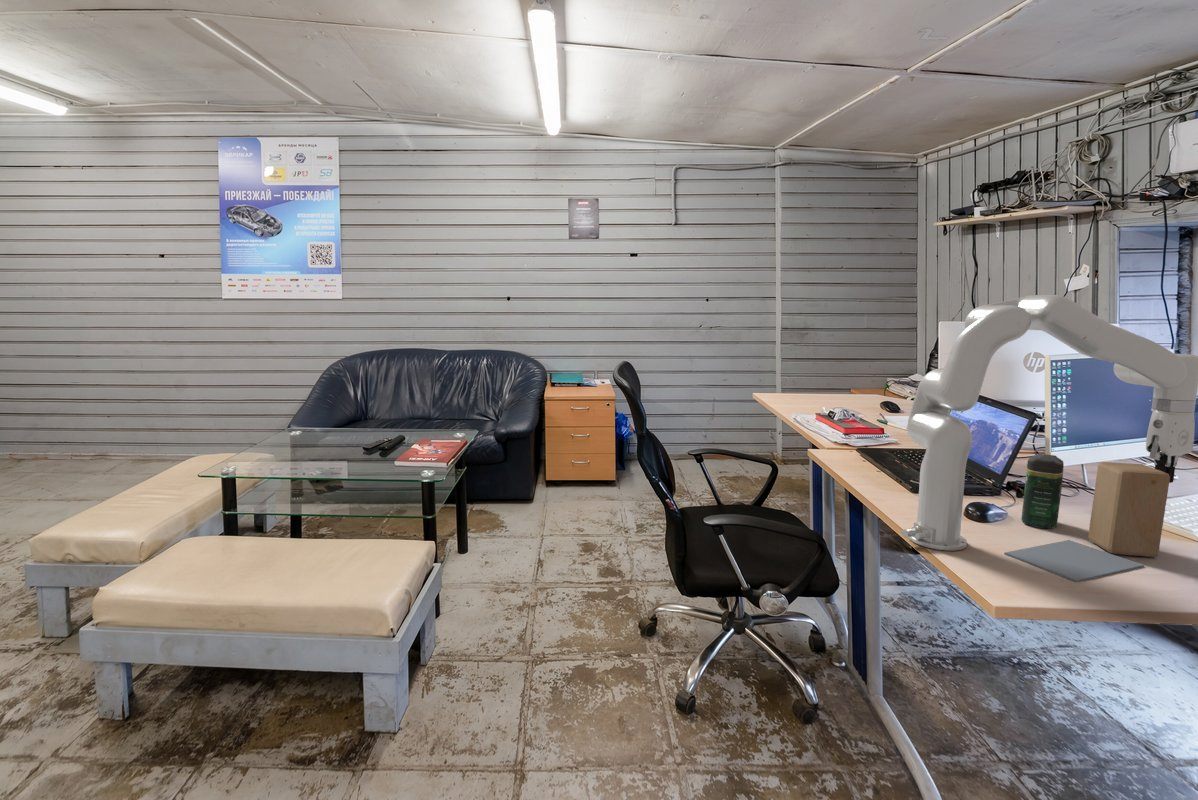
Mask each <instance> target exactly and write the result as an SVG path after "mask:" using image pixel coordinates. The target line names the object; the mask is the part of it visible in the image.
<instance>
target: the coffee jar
mask: <svg viewBox="0 0 1198 800" xmlns="http://www.w3.org/2000/svg"><path fill="white" fill-rule="evenodd" d="M1026 462H1027V465H1026V472H1025V473H1026V474H1025V480H1024V481H1025V483H1024V492H1023V501H1022V512H1021V521H1022V522H1023V524H1026V525H1030V526H1032V527H1035V528H1038V529H1043V528H1044V529H1045V528H1047V529H1054V528H1055V527H1056V526H1057V524H1058V521H1059V513H1060V504H1061V498H1062V489H1063V478H1064V461H1063V460H1062V459H1061V458H1059V457H1057V455H1053V454H1047V453H1046V454H1045V453H1037V454H1035V455H1032V456H1030V457H1029V458H1028V459H1027V461H1026Z"/></svg>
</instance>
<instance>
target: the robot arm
mask: <svg viewBox="0 0 1198 800" xmlns="http://www.w3.org/2000/svg"><path fill="white" fill-rule="evenodd" d="M964 327H965V329H963V331H961V333H959V335H958V337H957V338H956V339H955V341H954V342H953V344H952V346H951V349H950V352H949V354H948V357H947V360H946V363H945V366H944V368H942V367H941V368H935V369H932V370H930V371H929V372H927V373H926V374H925V375H924V376H923V377H922V378H921V380H920V381H919V384H918V386H917V390H916V392H915V394H914V395H915V396H914V399H913V403H912V405H911V410H910V412H909V416H908V421H907V425H906V426H907V434H908V436H909V438H910V439H911V440H912V441H913V442H914V443H915V444H917V445H918V446H920V447H922V448H925V453H924V455H923V458H922V461H921V465H920V470H919V486H918V487H919V489H918V499H917V500H918V501H917V502H918V503H917V516H916V522H913V526H912V527H911V528H906V529H903V530H902V531H901V535H902V537H903V538H909V540H910V541H911V542H913V543H914V544H916V545H919V546H921V547H925V548H928V549H932V550H939V551H949V552H950V551H951V552H952V551H953V552H954V551H960V550H963V549H965V548H967V545H968V540H967V539H966V538H965V537H963V536H962V535H961V531H962V530H961V527H962V526H961V525H962V519H963V517H962V515H963V502H964V489H965V478H966V467H967V461H968V458H969V454H970V452H971V448H972V445H973V444H972V443H973V437H972V436H973V435H972V434H973V433H972V432H971V430H970V429H971V428H970V427H969V426H968V425H967V424H966V423H965V422H964V421H963V420H961V419H960V418H957V417H956V416H953V415H950V414H951V411H953V412H966V411H968V410H971V409H973V407H974V406H975V405H976V403H977V402H978V400H979V397H980V393H981V390H982V387H983V383H984V381H985V377H986V373H987V370H988V367H989V364H990V362H991V360H992V358H993V356H994V355H995V353H996V352H997V351H998V350H999V349H1000V348H1002V347H1003V346H1005V345H1006V344H1008V343H1010V342H1013V341H1015V340H1017V339H1020V338H1021V337H1022V336H1024V335H1025V334H1026V333H1027V332H1028V331H1034V330H1035V331H1042V332H1045V333H1046V334H1048V335H1050V336H1051V337H1053V338H1054V339H1057V340H1058V341H1060V342H1061V343H1063V344H1065V345H1066V346H1067V347H1069V348H1072V349H1073V350H1074V351H1076V352H1077V353H1080V354H1082V355H1084V356H1087V357H1090V358H1093V359H1096V360H1101V361H1105V362H1109V363H1113V364H1114V365H1113V374H1114V376H1116V377H1117V379H1119V380H1120V381H1122V382H1123V383H1127V384H1130V385H1136V386H1137V385H1138V386H1146V387H1152V388H1153V393H1152V402H1151V409H1150V411H1151V412H1152V413H1151V416H1150V419H1149V424H1148V428H1147V431H1146V433H1147V434H1146V440H1145V450H1146V451H1147V452H1148V453H1149V459H1152V460H1153V464H1154V469H1157V470H1160V471H1162V472H1165V473H1167V474H1169V476H1170V481H1169V484H1170V483H1173V482H1174V479H1175V472H1176V466H1177V465H1178V461H1179V458H1180V457H1181V458H1182V456H1184V455H1187V454H1189V453H1192V452H1193V450H1194V444H1195V430H1196V429H1195V428H1196V427H1195V426H1196V423H1195V410H1196V402H1197V394H1198V355H1195V354H1191V353H1190V354H1189V353H1187V354H1186V353H1174V352H1172V351H1171V350H1169V349H1167V348H1166V347H1165V346H1162V345H1161V344H1159V343H1157V342H1155V341H1153V340H1151V339H1149V338H1146V337H1145V336H1142V335H1139V334H1136V333H1134V332H1131V331H1129V330H1126V329H1124V328H1121V327H1119V326H1116V325H1114V324H1111V323H1109V322H1107V321H1106V320H1104V319H1102V318H1101V317H1100V316H1098V315H1096V314H1094V313H1093V312H1091V311H1090V310H1088V309H1086V308H1085V307H1084V306H1081V305H1079V304H1078V303H1076V301H1074V300H1071V299H1070V298H1068V297H1067V296H1063V295H1060V294H1033V295H1031V294H1030V295H1025V296H1020V297H1017V298H1016V297H1015V298H1012V299H1008V300H1003V301H999V302H993V303H989V304H988V303H987V304H983V305H979V306H976V307H975V308H974V309H972V310H971V311H970V312H969V313H968V314H967V316H966V317H965V321H964Z"/></svg>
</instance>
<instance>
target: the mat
mask: <svg viewBox="0 0 1198 800" xmlns="http://www.w3.org/2000/svg"><path fill="white" fill-rule="evenodd" d="M1004 555H1005V556H1008V557H1011V558H1014V559H1016V560H1018V559H1019V561H1021V562H1024V563H1026V564H1029V565H1032V566H1034V567H1037V568H1039V569H1042V570H1045V571H1047V572H1050V573H1052V574H1055V575H1057V576H1059V577H1062V578H1065V579H1067V580H1070V581H1073V582H1075V583H1079V582H1083V581H1086V580H1090V579H1091V580H1093V579H1097V578H1100V577H1104V576H1105V577H1106V576H1109V575H1113V574H1116V573H1117V574H1118V573H1123V572H1127V571H1130V570H1135V569H1140V568H1143V567H1145V565H1144V564H1143V563H1139V562H1137V561H1133V560H1132V559H1128V558H1124V557H1122V556H1118V555H1117V554H1112V553H1110V552H1108V551H1104V550H1100V549H1098V548H1095V547H1092V546H1089V545H1086V544H1082V543H1079V542H1077V541H1074V540H1071V539H1067V540H1062V541H1061V540H1060V541H1055V542H1051V543H1047V544H1046V543H1045V544H1040V545H1035V546H1031V547H1026V548H1025V547H1024V548H1021V549H1016V550H1010V551H1006V552H1004ZM1139 567H1140V568H1139ZM1126 570H1127V571H1126Z"/></svg>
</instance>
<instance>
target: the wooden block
mask: <svg viewBox="0 0 1198 800" xmlns="http://www.w3.org/2000/svg"><path fill="white" fill-rule="evenodd" d="M1169 481H1170V476H1169V474H1167V473H1165V472H1162V471H1160V470H1157V469H1155V467H1151V466H1148V465H1145V464H1142V463H1127V462H1112V461H1103V462H1099V463H1098V464H1097V470H1096V477H1095V482H1094V483H1095V486H1094V493H1093V500H1092V506H1091V513H1090V514H1091V515H1090V520H1089V529H1088V536H1087V537H1088V540H1089V541H1090V542H1092V543H1093V544H1096V545H1097V546H1098V547H1100V548H1102V549H1104V550H1105V551H1106V552H1107V553H1110V554H1113V555H1124V556H1136V557H1137V556H1138V557H1147V558H1148V557H1149V558H1155V557H1158V555H1159V552H1160V545H1161V538H1162V531H1163V526H1164V519H1165V512H1166V506H1167V499H1168V494H1169V485H1170V483H1169Z"/></svg>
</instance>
